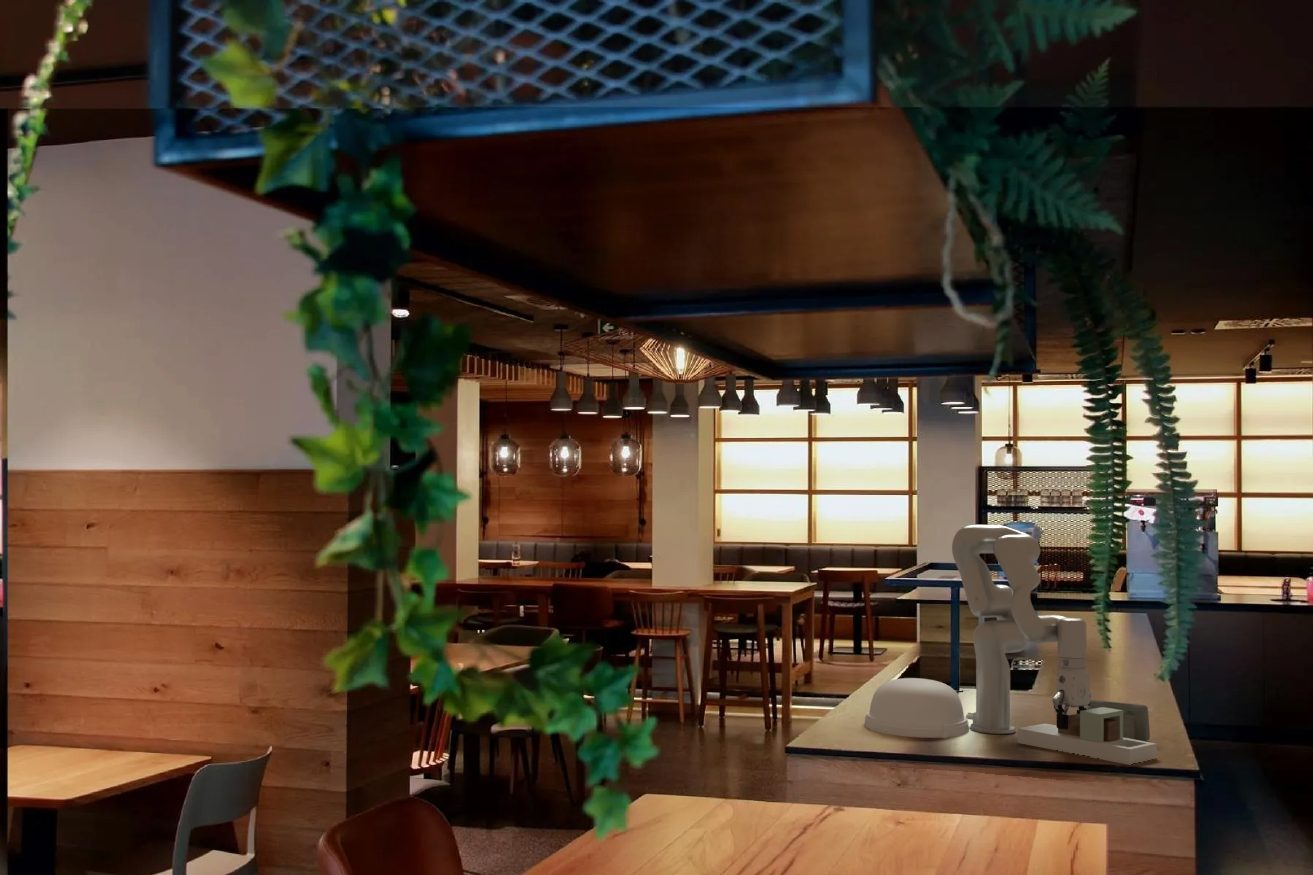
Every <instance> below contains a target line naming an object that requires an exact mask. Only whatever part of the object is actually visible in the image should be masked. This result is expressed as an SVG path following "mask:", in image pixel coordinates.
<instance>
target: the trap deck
mask: <svg viewBox="0 0 1313 875" xmlns="http://www.w3.org/2000/svg"><path fill="white" fill-rule="evenodd" d="M1017 744H1020V745H1027V746H1030V747H1031V746H1033V747H1037V748H1042V749H1046V750H1047V749H1048V750H1052V751H1056V750H1058V751H1057V752H1062V751H1063V753H1067V752H1068V753H1067V754H1072V753H1075V754H1074V755H1077V754H1079V755H1078V756H1082V755H1086V756H1085V757H1087V756H1090V757H1089V758H1091V759H1097V758H1099V759H1098V760H1102V761H1103V760H1104V761H1108V762H1114V763H1118V764H1122V765H1129V766H1131V764H1133V763H1137V764H1139V763H1138V762H1141V761H1146V760H1150V759H1153V758H1158V757H1157V755H1158V754H1157V753H1158V752H1157V751H1158V750H1157V749H1158V748H1157V747H1158V744H1157V743H1155V742H1150V741H1140V740H1134V739H1129V738H1122V739H1119V740H1115V741H1111V742H1106V741H1104V742H1102V743H1098V742H1093V741H1088V740H1082V739H1080V737H1079V736H1074V735H1068V734H1063V733H1058V728H1057V724H1056V725H1055V724H1049V723H1041V724H1040V723H1039V724H1035V725H1028V726H1024V727H1023V726H1022V727H1018V728H1017ZM1150 761H1151V760H1150ZM1146 762H1147V761H1146ZM1141 763H1142V762H1141ZM1133 765H1134V764H1133Z"/></svg>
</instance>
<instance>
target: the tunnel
mask: <svg viewBox="0 0 1313 875" xmlns="http://www.w3.org/2000/svg"><path fill="white" fill-rule="evenodd" d="M1104 718H1105V719H1111V720H1117V721H1119V739H1122V738H1123V710H1118V709H1111V708H1105V707H1100V708H1094V709H1089V710H1083V711H1080V739H1082V740H1088V741H1093V742H1098V743H1102V742H1104Z"/></svg>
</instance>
